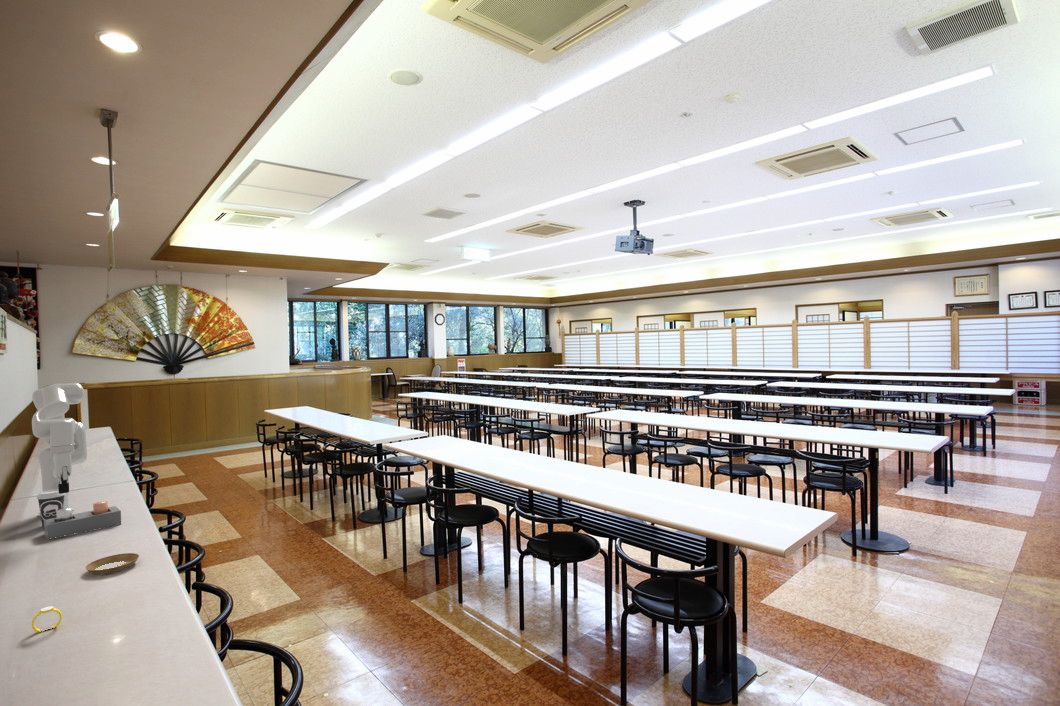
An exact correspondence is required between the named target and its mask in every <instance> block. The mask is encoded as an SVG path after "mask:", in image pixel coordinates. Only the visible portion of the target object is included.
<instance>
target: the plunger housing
mask: <svg viewBox="0 0 1060 706" xmlns="http://www.w3.org/2000/svg"><path fill="white" fill-rule="evenodd" d="M72 515H73V519H71V520H65V521H60V522H57V518H52V519H46V520H44V527H43V530H44V531H43V535H44V534H45V535H44V536H45V538H46V537H47V538H46V539H47V540H48V539H50V538H55V537H60V536H64V535H69V536H71V535H70V534H74V533H78V534H81V533H80V532H83V533H86V532H85V531H87V532H91V531H90V530H92V531H95V530H94V529H97V530H100V529H99V528H101V529H105V528H104V527H106V528H110V527H109V526H111V527H114V525H115V526H119V524H120V525H122V510H121V509H119V508H118V507H117V506H115V505H114V506H108V512H106V513H101V514H96V515H94V513H93V510H89V511H82V512H78V513H72ZM74 535H75V534H74ZM64 537H65V536H64ZM60 538H61V537H60ZM55 539H56V538H55Z"/></svg>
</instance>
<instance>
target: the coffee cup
mask: <svg viewBox="0 0 1060 706" xmlns="http://www.w3.org/2000/svg"><path fill="white" fill-rule="evenodd" d="M65 494H66V493H62V494H59V491H58V489H54V490H47V491H43V492H42V491H39V493H38V495H37V496H36V499H37V500H38V507H39V512H40V515H41V516H40V521H41V527H42V528H44V520H46V519H52V518H57V513H56V511H57V510H59V509H63V505H64V495H65Z"/></svg>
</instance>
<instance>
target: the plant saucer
mask: <svg viewBox="0 0 1060 706" xmlns="http://www.w3.org/2000/svg"><path fill="white" fill-rule="evenodd" d="M139 558H140V555H139V554H138V553H134V552H126V553H119V554H112V555H108V556H104V557H102V558H98V559H95V560H94V561H91V562H89V563H88V564H87V565H86V566H85V567H84V568H85V570H87V571H88V572H89V573H91V574H93V575H97V574H98V575H99V574H103V575H110V574H114V573H119V572H122V571H125V570H126V568H127V569H129V568H130V567H132V566H133V565H134V564H135V563H136V562H137V561H138V559H139ZM120 561H121V562H122V561H124V562H126V563H124V564H122V565H121V564H120V565H121V566H118V565H117V567H114V568H109V569H103V570H95V569H96V568H98V567H100V566H102V565H105V564H109V563H114V562H120ZM121 570H122V571H121ZM118 571H119V572H118ZM98 575H97V576H98ZM99 576H100V575H99Z"/></svg>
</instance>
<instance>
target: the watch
mask: <svg viewBox="0 0 1060 706" xmlns="http://www.w3.org/2000/svg"><path fill="white" fill-rule="evenodd" d="M51 612H56V614H58V615H59V619H58V621H57V623H56V624H54V625H53V626H52V627H54V628H55V627H56V628H57V627H58V626H59V625H60V624H61V622H62V619H63V615H62V614H63V613H62V612H61V610H60V609H59V608H55V607H54V606H52V605H49V606H46V607H42V608H41V609H40V610H39V612H37V613H36V614H35V615H34V617H33V618H32V621H31V628H32V629H33V631H35V632H36V633H39V631H40V629H41V628H37V626H36V625H35V621H36V619H37V617H38V616H40V615H41V614H47V613H51ZM56 628H55V629H56Z"/></svg>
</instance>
